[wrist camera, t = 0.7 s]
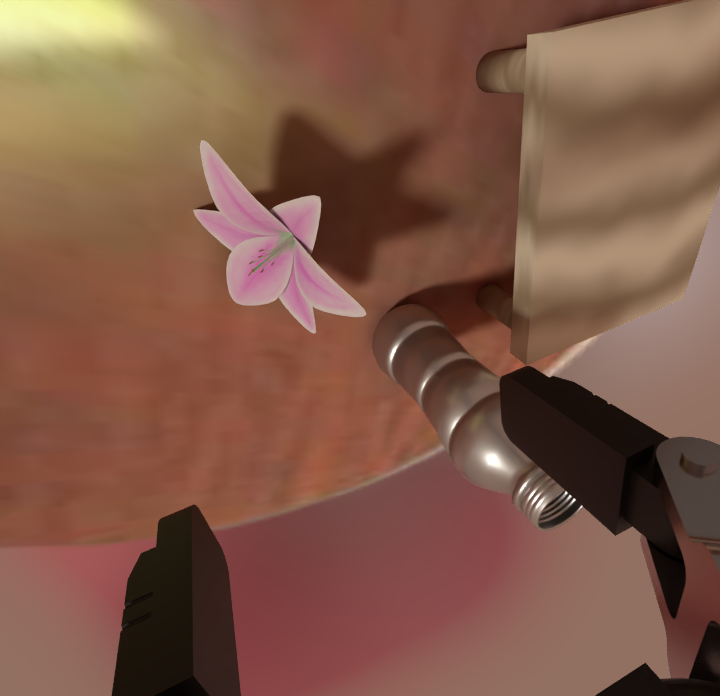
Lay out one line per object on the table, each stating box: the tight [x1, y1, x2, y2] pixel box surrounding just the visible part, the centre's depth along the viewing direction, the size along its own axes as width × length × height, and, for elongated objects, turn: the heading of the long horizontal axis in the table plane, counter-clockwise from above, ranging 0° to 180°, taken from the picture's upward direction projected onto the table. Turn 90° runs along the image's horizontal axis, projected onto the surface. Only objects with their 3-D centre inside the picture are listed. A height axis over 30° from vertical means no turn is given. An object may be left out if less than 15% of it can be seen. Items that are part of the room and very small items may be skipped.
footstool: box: [476, 0, 720, 365], centre depth 33 cm, size 22×17×8 cm
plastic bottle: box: [372, 304, 583, 531], centre depth 30 cm, size 6×7×20 cm
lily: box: [193, 140, 366, 334], centre depth 26 cm, size 12×12×10 cm
